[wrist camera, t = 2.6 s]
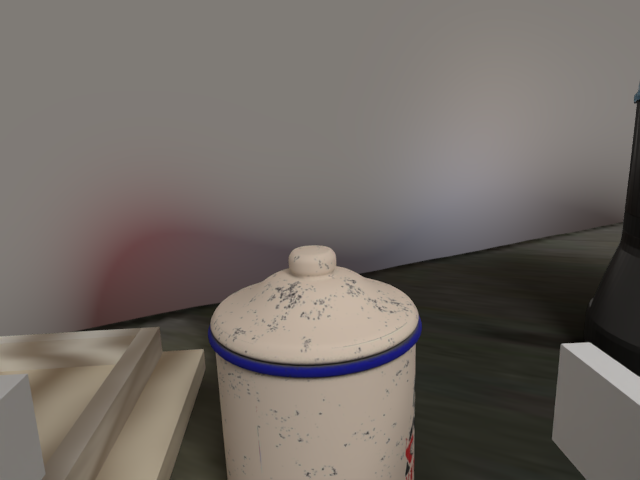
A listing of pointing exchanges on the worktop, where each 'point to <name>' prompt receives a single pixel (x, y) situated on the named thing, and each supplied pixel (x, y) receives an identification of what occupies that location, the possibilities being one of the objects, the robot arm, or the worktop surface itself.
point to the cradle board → (106, 400)
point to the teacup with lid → (317, 374)
